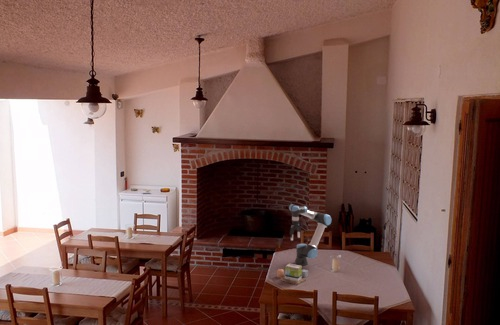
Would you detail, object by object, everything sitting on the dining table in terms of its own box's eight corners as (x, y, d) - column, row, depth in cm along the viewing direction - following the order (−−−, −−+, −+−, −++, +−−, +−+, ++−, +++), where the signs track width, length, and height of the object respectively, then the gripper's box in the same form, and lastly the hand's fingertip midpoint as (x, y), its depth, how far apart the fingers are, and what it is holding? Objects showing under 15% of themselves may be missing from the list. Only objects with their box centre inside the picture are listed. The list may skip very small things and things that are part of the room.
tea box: (284, 279, 468) (284, 265, 466) (288, 276, 476) (288, 262, 474) (298, 282, 460) (298, 268, 458) (301, 278, 469) (302, 265, 467)
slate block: (303, 274, 485) (303, 269, 484) (308, 275, 481) (308, 270, 481) (300, 276, 481) (300, 270, 480) (305, 277, 477) (305, 272, 476)
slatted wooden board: (289, 276, 481) (289, 274, 481) (305, 280, 468) (305, 279, 468) (281, 280, 469) (281, 279, 469) (297, 285, 456) (297, 283, 456)
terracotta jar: (279, 275, 483) (279, 268, 482) (285, 277, 478) (285, 269, 477) (275, 277, 477) (275, 270, 476) (281, 279, 473) (281, 271, 472)
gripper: (298, 217, 501) (298, 235, 503) (286, 221, 482) (286, 240, 484) (304, 218, 496) (304, 237, 499) (291, 222, 477) (291, 242, 479)
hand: (295, 238), depth 491 cm, fingers open, 13 cm apart
